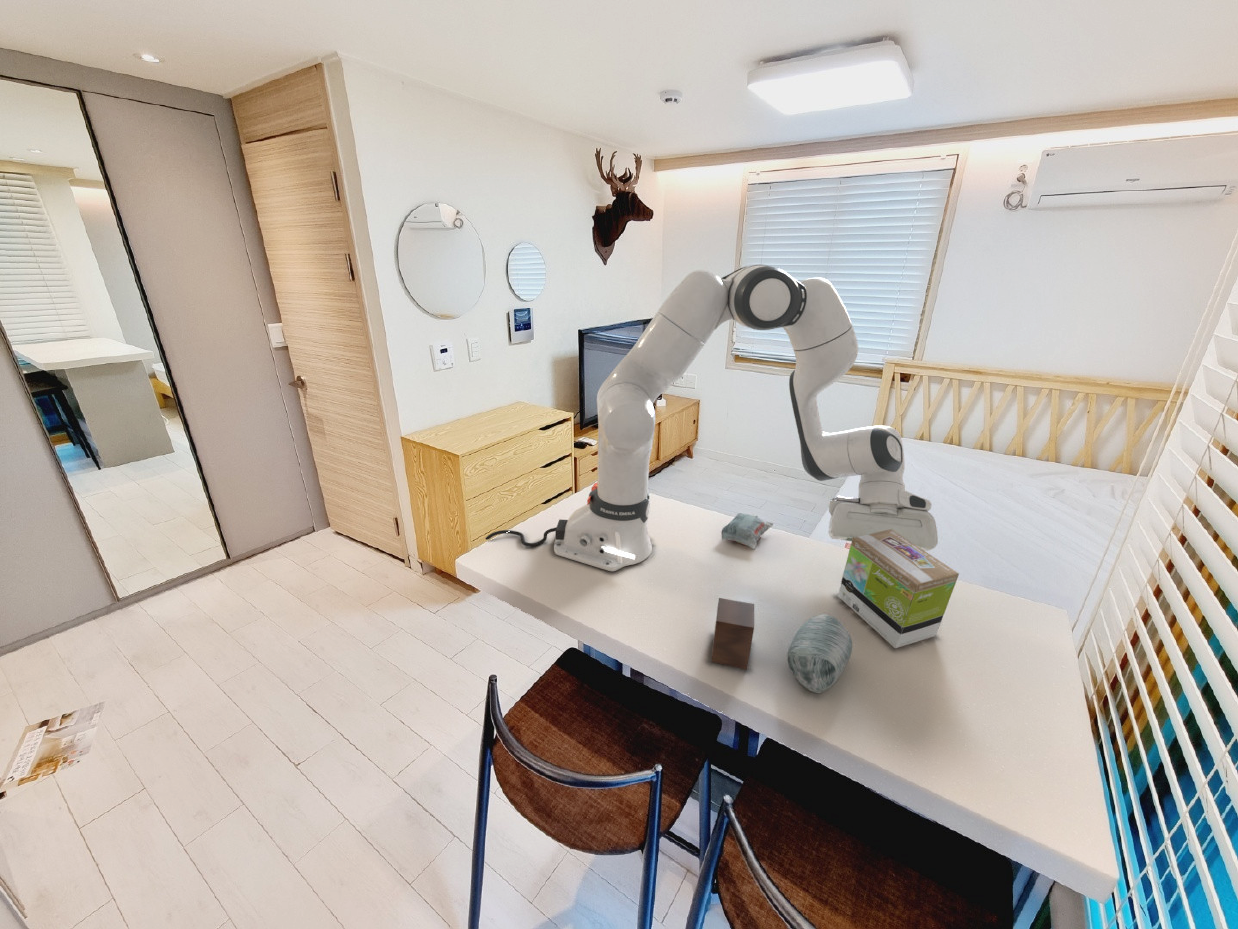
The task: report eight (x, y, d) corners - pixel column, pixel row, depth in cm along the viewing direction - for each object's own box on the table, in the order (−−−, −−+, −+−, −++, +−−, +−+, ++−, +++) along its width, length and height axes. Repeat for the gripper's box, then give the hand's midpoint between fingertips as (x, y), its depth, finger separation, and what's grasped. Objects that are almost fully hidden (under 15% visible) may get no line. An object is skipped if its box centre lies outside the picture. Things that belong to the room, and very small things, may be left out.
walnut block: (711, 662, 85) (716, 621, 81) (713, 637, 90) (718, 597, 87) (747, 669, 84) (754, 628, 80) (747, 644, 89) (754, 603, 85)
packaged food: (771, 533, 123) (774, 515, 120) (753, 556, 114) (756, 537, 112) (737, 522, 127) (739, 505, 125) (718, 543, 118) (720, 525, 116)
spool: (841, 703, 74) (828, 635, 75) (781, 694, 81) (769, 632, 81) (869, 670, 84) (857, 610, 85) (813, 664, 91) (803, 609, 91)
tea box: (835, 597, 101) (850, 535, 95) (874, 587, 104) (891, 526, 98) (895, 651, 88) (917, 583, 82) (937, 638, 91) (962, 571, 85)
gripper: (832, 490, 106) (830, 555, 101) (940, 502, 101) (942, 571, 97) (826, 499, 111) (823, 561, 107) (927, 510, 107) (929, 575, 103)
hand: (881, 566), depth 102 cm, fingers closed
